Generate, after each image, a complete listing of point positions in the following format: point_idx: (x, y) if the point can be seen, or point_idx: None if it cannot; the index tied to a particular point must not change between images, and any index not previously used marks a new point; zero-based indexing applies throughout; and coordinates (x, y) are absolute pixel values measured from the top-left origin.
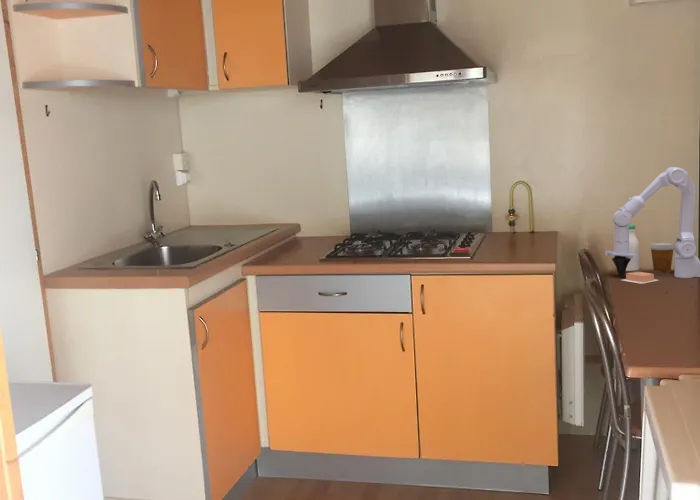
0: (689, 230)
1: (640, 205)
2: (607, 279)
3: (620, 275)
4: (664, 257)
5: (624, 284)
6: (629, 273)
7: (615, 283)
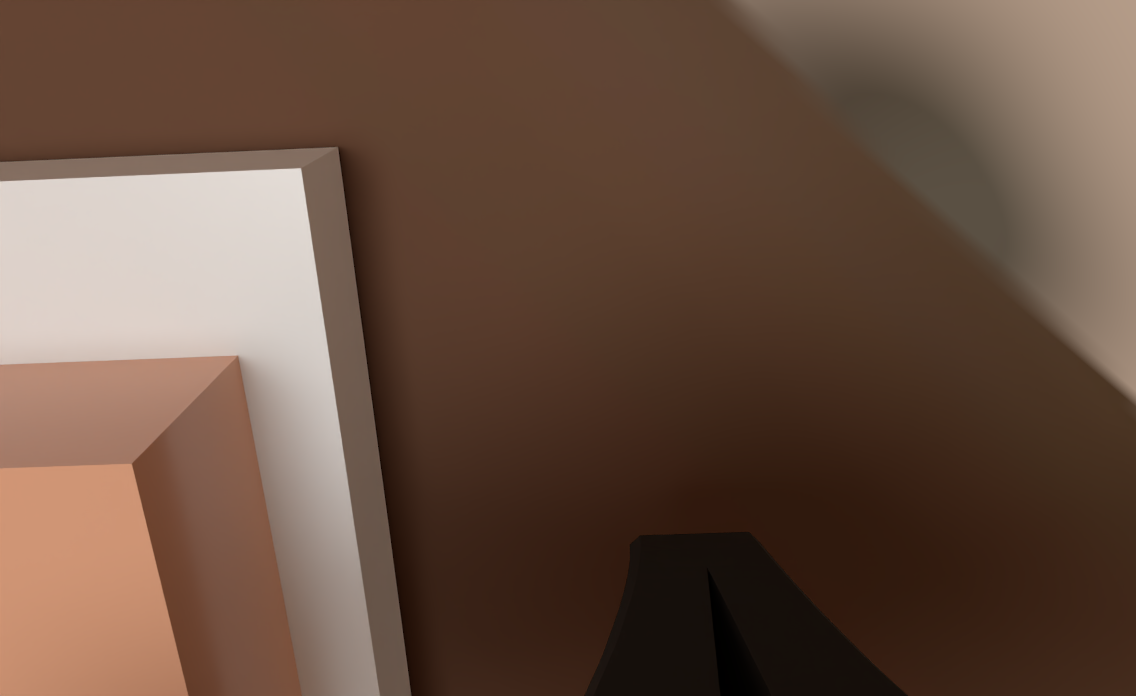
0: None
1: None
2: (1119, 390)
3: (655, 538)
4: None
5: None
6: (25, 536)
7: (500, 92)
